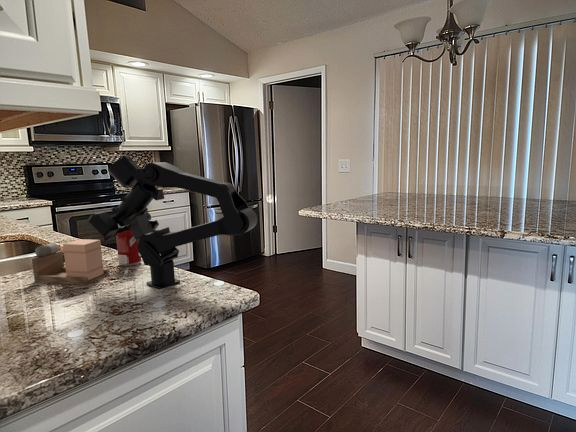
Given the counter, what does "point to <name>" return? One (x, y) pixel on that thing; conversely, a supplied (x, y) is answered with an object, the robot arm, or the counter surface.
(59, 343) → the counter surface
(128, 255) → the soda can
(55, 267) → the bay
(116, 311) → the counter surface
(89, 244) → the pink box
